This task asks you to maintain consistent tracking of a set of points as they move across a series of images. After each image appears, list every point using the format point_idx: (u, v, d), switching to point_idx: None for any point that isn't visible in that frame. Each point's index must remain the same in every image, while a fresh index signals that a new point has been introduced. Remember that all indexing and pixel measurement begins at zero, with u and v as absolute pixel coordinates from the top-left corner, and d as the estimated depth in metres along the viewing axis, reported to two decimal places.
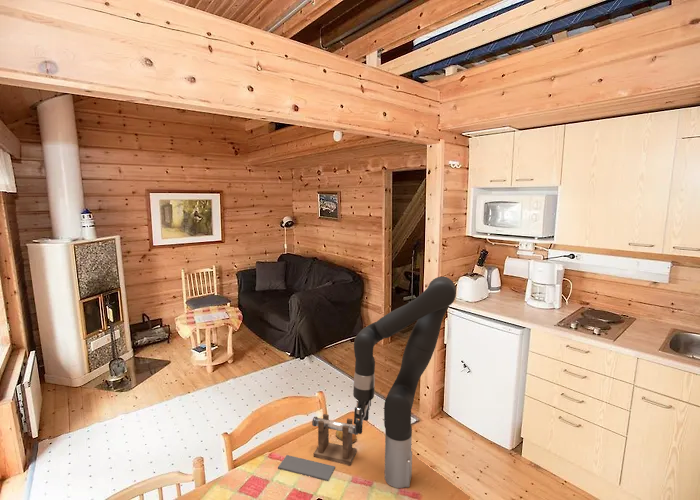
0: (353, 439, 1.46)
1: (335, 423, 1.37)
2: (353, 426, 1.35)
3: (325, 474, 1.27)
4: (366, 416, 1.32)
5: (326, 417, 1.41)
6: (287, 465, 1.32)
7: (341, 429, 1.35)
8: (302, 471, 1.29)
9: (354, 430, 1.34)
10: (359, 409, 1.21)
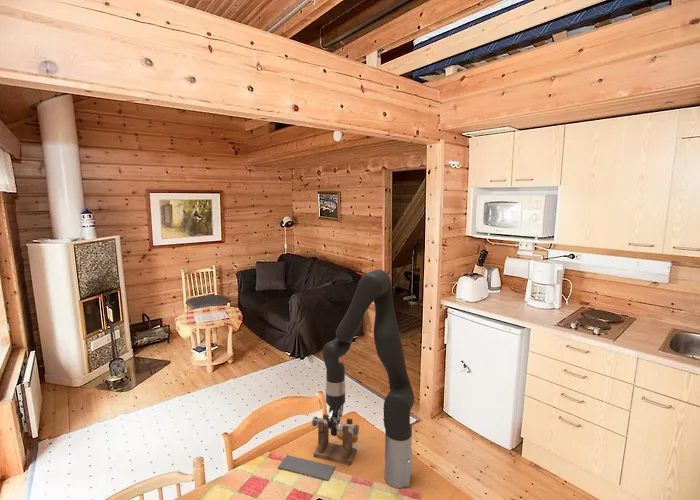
0: (354, 438, 1.47)
1: None
2: (353, 426, 1.35)
3: (325, 474, 1.27)
4: None
5: None
6: (287, 465, 1.32)
7: (341, 429, 1.35)
8: (302, 471, 1.29)
9: (354, 430, 1.34)
10: (330, 418, 1.31)
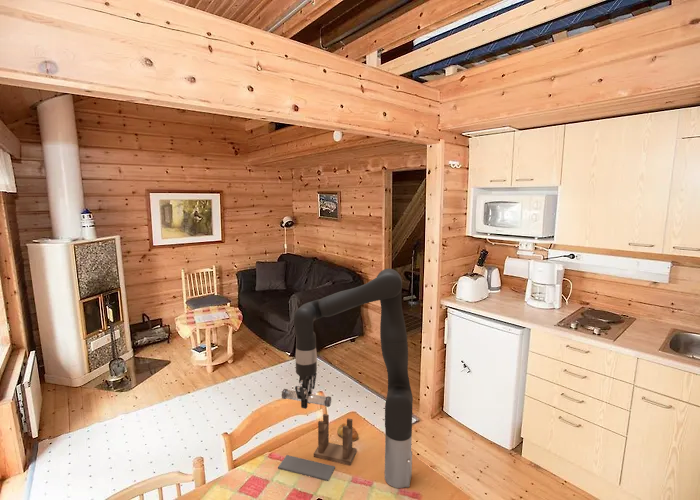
0: (355, 437, 1.47)
1: None
2: (324, 398, 1.26)
3: (325, 474, 1.27)
4: None
5: (326, 417, 1.41)
6: (287, 465, 1.32)
7: (312, 401, 1.26)
8: (302, 471, 1.29)
9: (325, 402, 1.25)
10: (299, 388, 1.22)
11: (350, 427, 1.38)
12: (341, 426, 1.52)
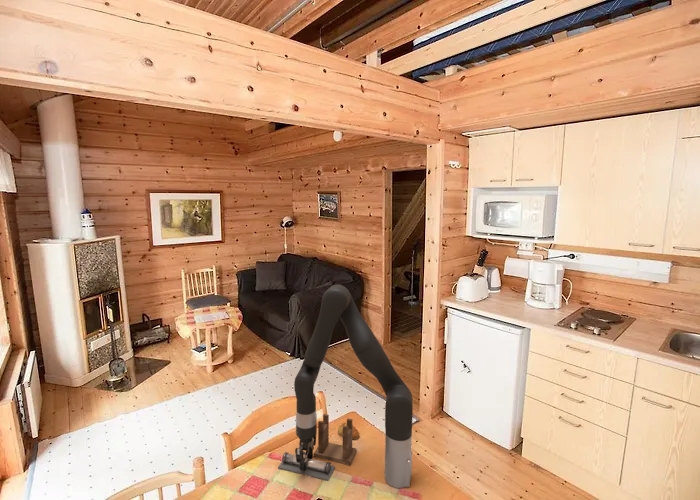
0: (356, 435, 1.48)
1: (306, 460, 1.30)
2: (324, 464, 1.28)
3: (325, 474, 1.27)
4: (310, 456, 1.33)
5: (326, 417, 1.41)
6: (287, 465, 1.32)
7: (312, 467, 1.29)
8: (302, 471, 1.29)
9: (325, 468, 1.27)
10: (299, 451, 1.24)
11: (350, 427, 1.38)
12: (342, 425, 1.53)
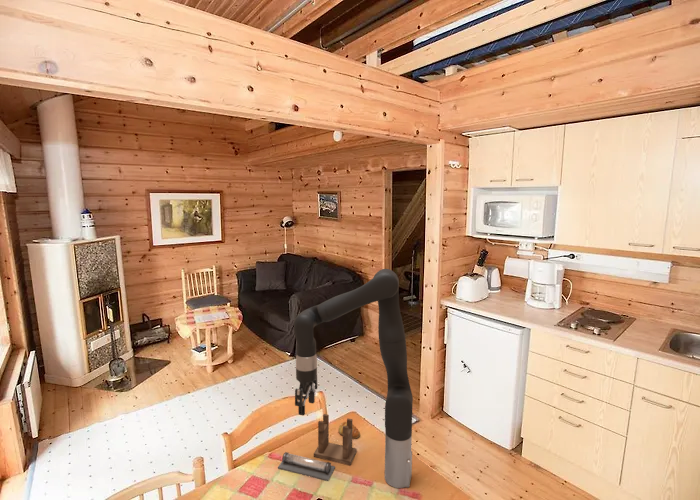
0: (357, 435, 1.49)
1: (306, 460, 1.30)
2: (324, 464, 1.28)
3: (325, 474, 1.27)
4: (312, 399, 1.33)
5: (326, 417, 1.41)
6: (287, 465, 1.32)
7: (312, 467, 1.29)
8: (302, 471, 1.29)
9: (325, 468, 1.27)
10: (299, 390, 1.22)
11: (350, 427, 1.38)
12: (342, 424, 1.53)
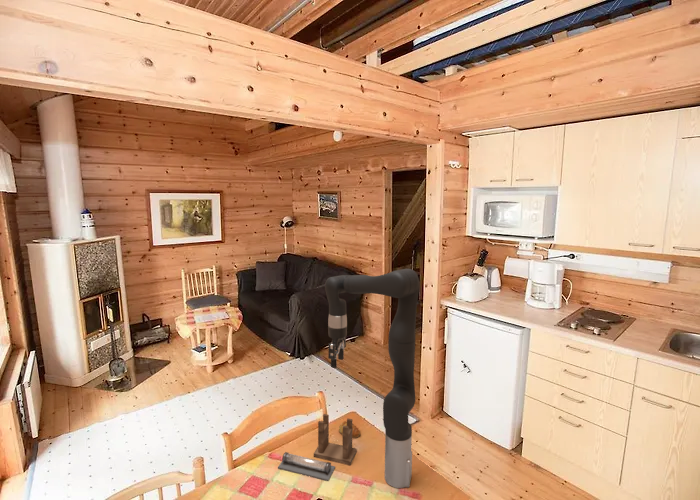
0: (357, 434, 1.49)
1: (306, 460, 1.30)
2: (324, 464, 1.28)
3: (325, 474, 1.27)
4: (341, 355, 1.48)
5: (326, 417, 1.41)
6: (287, 465, 1.32)
7: (312, 467, 1.29)
8: (302, 471, 1.29)
9: (325, 468, 1.27)
10: (333, 345, 1.38)
11: (350, 427, 1.38)
12: (342, 424, 1.54)
